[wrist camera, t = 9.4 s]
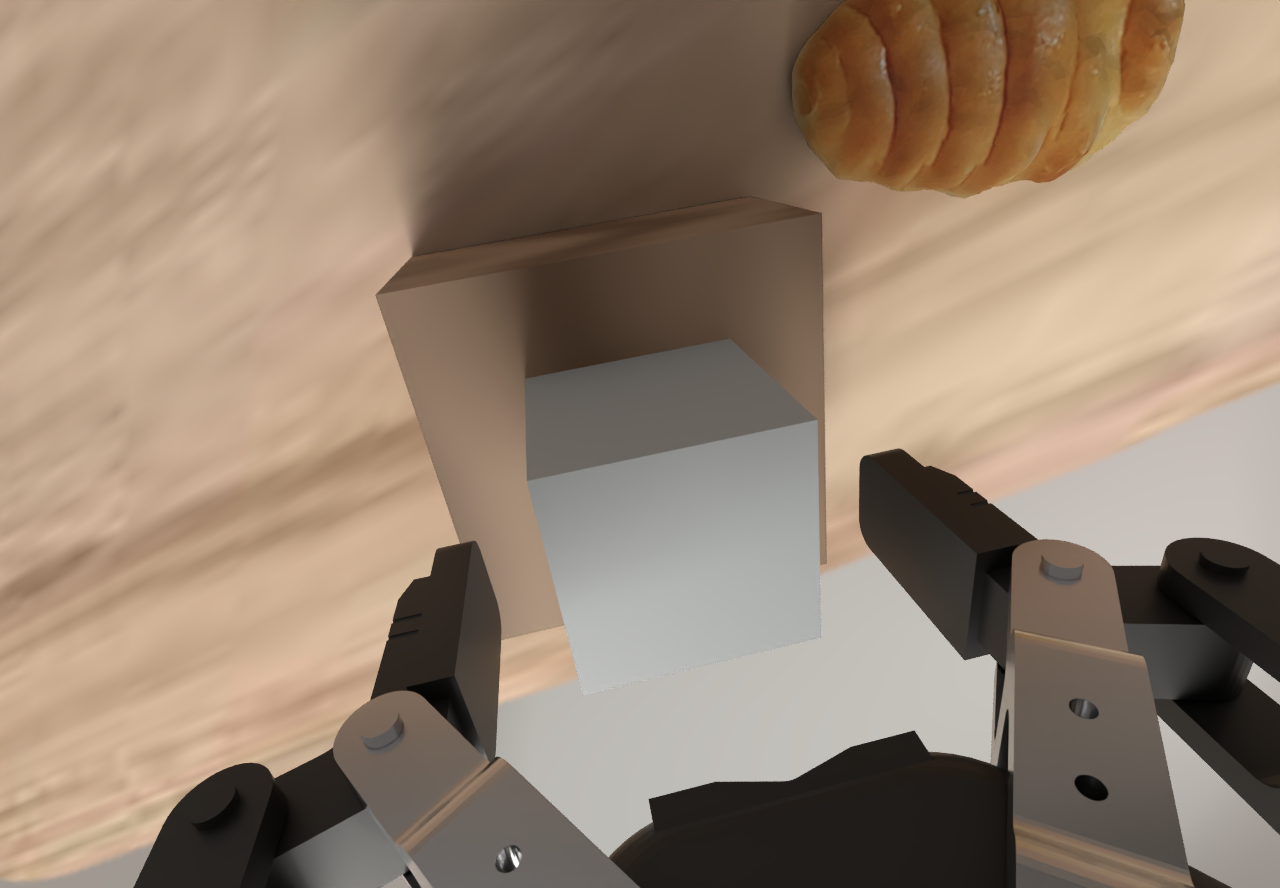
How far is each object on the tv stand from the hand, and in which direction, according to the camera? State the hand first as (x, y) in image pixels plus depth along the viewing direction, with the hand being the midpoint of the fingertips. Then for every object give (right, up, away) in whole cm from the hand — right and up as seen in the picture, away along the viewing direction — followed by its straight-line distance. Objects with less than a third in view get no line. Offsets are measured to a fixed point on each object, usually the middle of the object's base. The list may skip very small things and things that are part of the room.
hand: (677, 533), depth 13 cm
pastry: (+9, +13, +6) cm, 16 cm away
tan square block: (-2, +4, +8) cm, 9 cm away
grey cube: (-1, +2, +3) cm, 4 cm away
